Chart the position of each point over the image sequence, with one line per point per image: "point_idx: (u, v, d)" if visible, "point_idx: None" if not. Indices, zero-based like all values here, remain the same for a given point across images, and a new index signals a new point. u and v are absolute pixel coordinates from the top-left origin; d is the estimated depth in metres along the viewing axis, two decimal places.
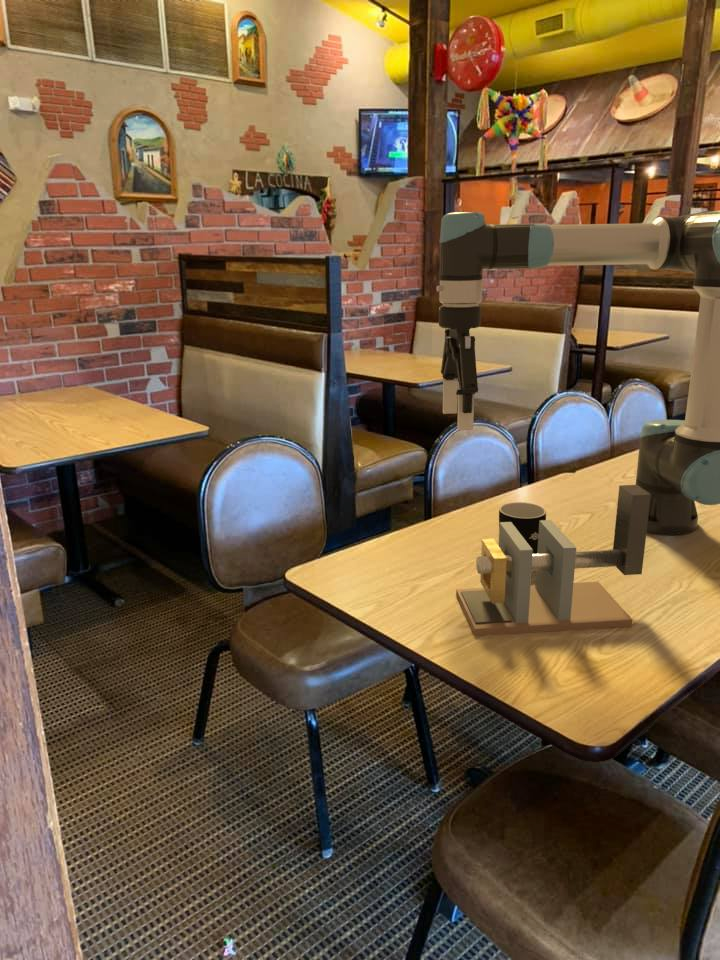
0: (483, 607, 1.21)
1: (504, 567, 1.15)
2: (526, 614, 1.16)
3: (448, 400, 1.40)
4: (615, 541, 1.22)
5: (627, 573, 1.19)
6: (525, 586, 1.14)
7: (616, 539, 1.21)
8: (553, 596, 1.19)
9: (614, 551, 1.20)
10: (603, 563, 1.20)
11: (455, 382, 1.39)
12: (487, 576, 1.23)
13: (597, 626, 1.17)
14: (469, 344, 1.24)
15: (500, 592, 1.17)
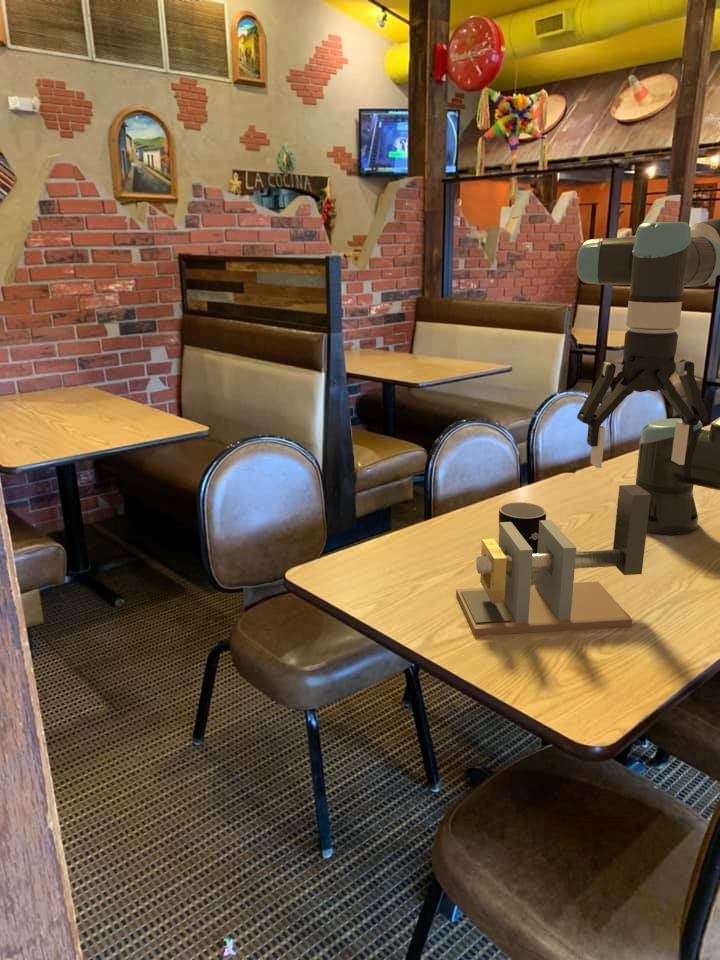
0: (483, 607, 1.21)
1: (504, 567, 1.15)
2: (526, 614, 1.16)
3: (676, 445, 1.16)
4: (615, 541, 1.22)
5: (627, 573, 1.19)
6: (525, 586, 1.14)
7: (616, 539, 1.21)
8: (553, 596, 1.19)
9: (614, 551, 1.20)
10: (603, 563, 1.20)
11: (682, 426, 1.14)
12: (487, 576, 1.23)
13: (597, 626, 1.17)
14: (604, 371, 1.10)
15: (500, 592, 1.17)
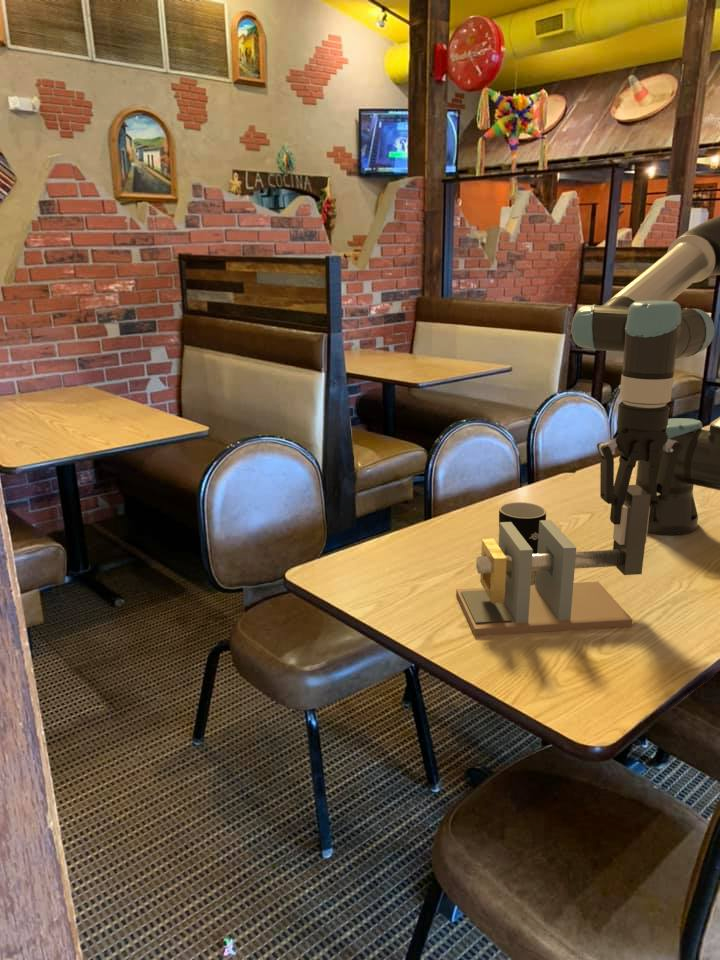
0: (483, 607, 1.21)
1: (504, 567, 1.15)
2: (526, 614, 1.16)
3: None
4: (615, 541, 1.22)
5: (627, 573, 1.19)
6: (525, 586, 1.14)
7: None
8: (553, 596, 1.19)
9: (614, 551, 1.20)
10: (603, 563, 1.20)
11: None
12: (487, 576, 1.23)
13: (597, 626, 1.17)
14: (602, 454, 1.15)
15: (500, 592, 1.17)
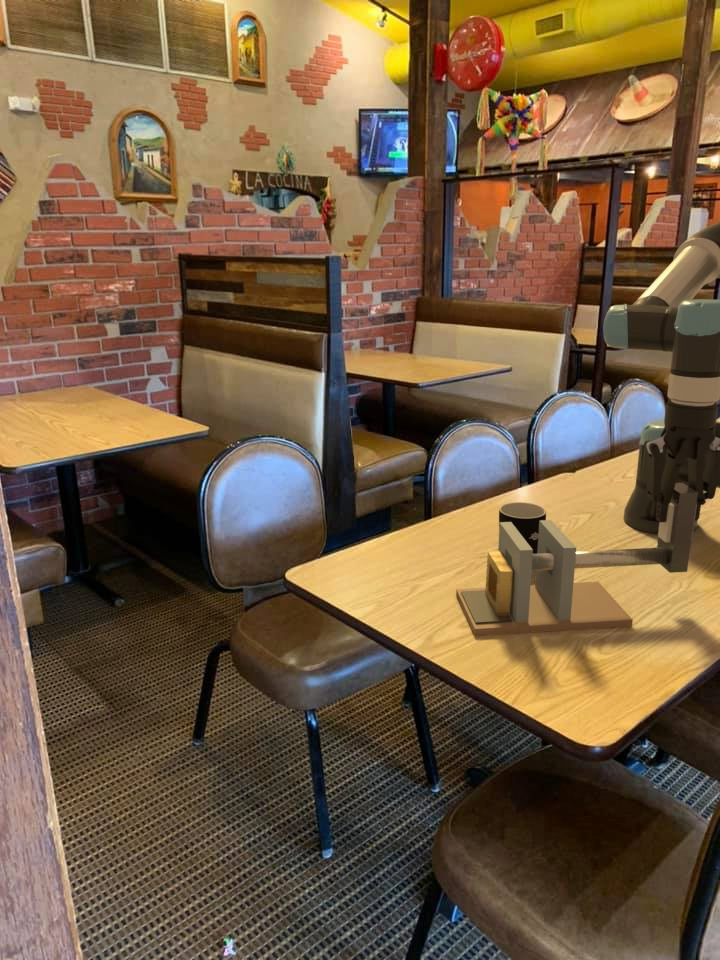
0: (483, 607, 1.21)
1: (510, 580, 1.16)
2: (526, 614, 1.16)
3: None
4: (660, 539, 1.22)
5: (673, 571, 1.20)
6: (525, 586, 1.14)
7: None
8: (553, 596, 1.19)
9: (659, 549, 1.21)
10: (648, 560, 1.20)
11: None
12: (492, 588, 1.24)
13: (597, 626, 1.17)
14: (649, 452, 1.15)
15: (505, 605, 1.17)
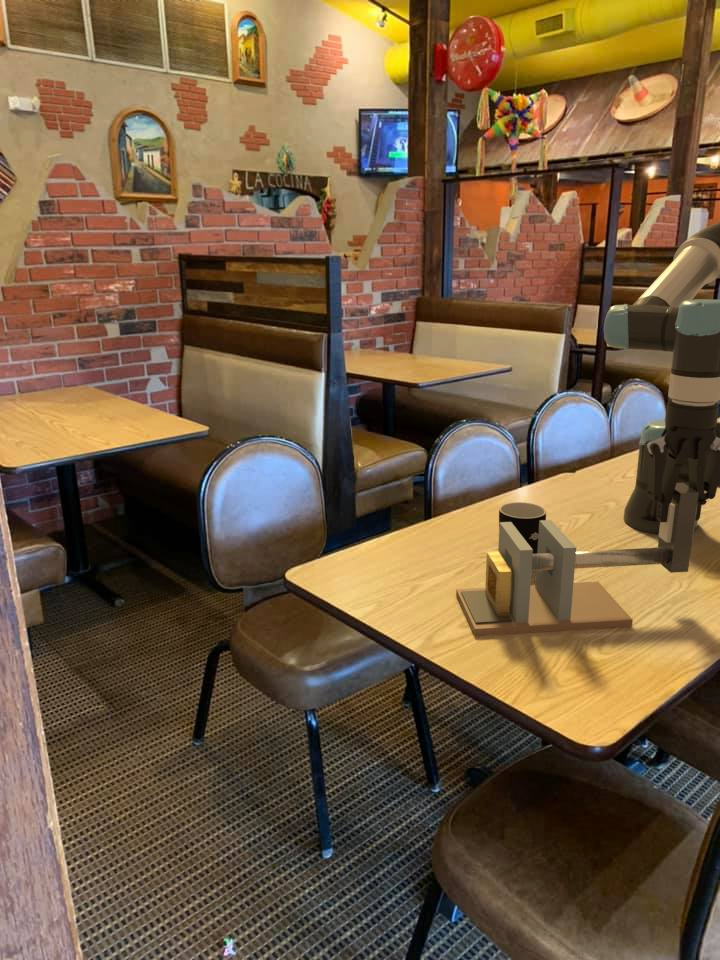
0: (483, 607, 1.21)
1: (509, 580, 1.16)
2: (526, 614, 1.16)
3: None
4: (661, 539, 1.22)
5: (673, 571, 1.20)
6: (525, 586, 1.14)
7: None
8: (553, 596, 1.19)
9: (660, 549, 1.21)
10: (649, 560, 1.20)
11: None
12: (492, 588, 1.24)
13: (597, 626, 1.17)
14: (650, 452, 1.15)
15: (505, 605, 1.17)
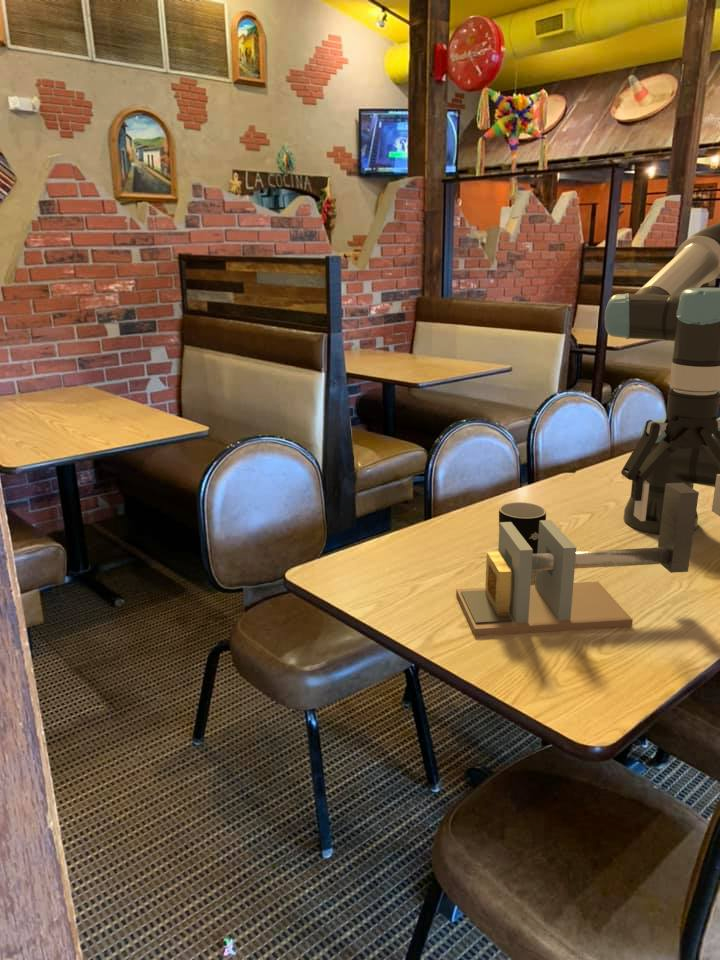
0: (483, 607, 1.21)
1: (509, 580, 1.16)
2: (526, 614, 1.16)
3: (716, 497, 1.20)
4: (661, 539, 1.22)
5: (673, 571, 1.20)
6: (525, 586, 1.14)
7: (662, 536, 1.22)
8: (553, 596, 1.19)
9: (660, 549, 1.21)
10: (649, 560, 1.20)
11: None
12: (492, 588, 1.24)
13: (597, 626, 1.17)
14: (649, 430, 1.14)
15: (505, 605, 1.17)
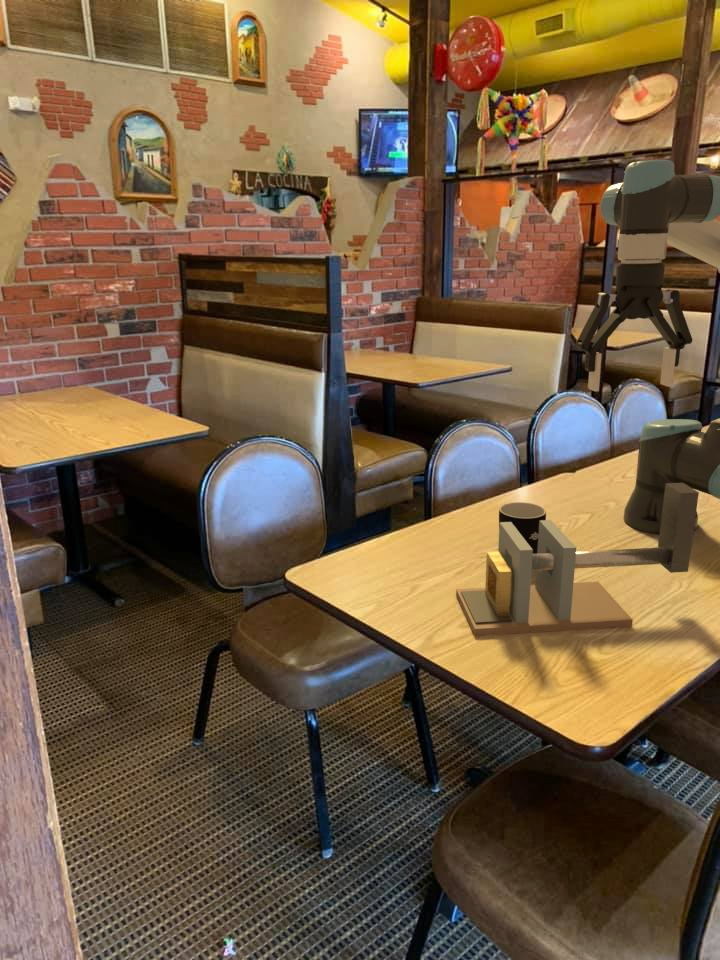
0: (483, 607, 1.21)
1: (509, 580, 1.16)
2: (526, 614, 1.16)
3: (664, 369, 1.27)
4: (661, 539, 1.22)
5: (673, 571, 1.20)
6: (525, 586, 1.14)
7: (662, 536, 1.22)
8: (553, 596, 1.19)
9: (660, 549, 1.21)
10: (649, 560, 1.20)
11: (670, 351, 1.25)
12: (492, 588, 1.24)
13: (597, 626, 1.17)
14: (599, 301, 1.21)
15: (505, 605, 1.17)
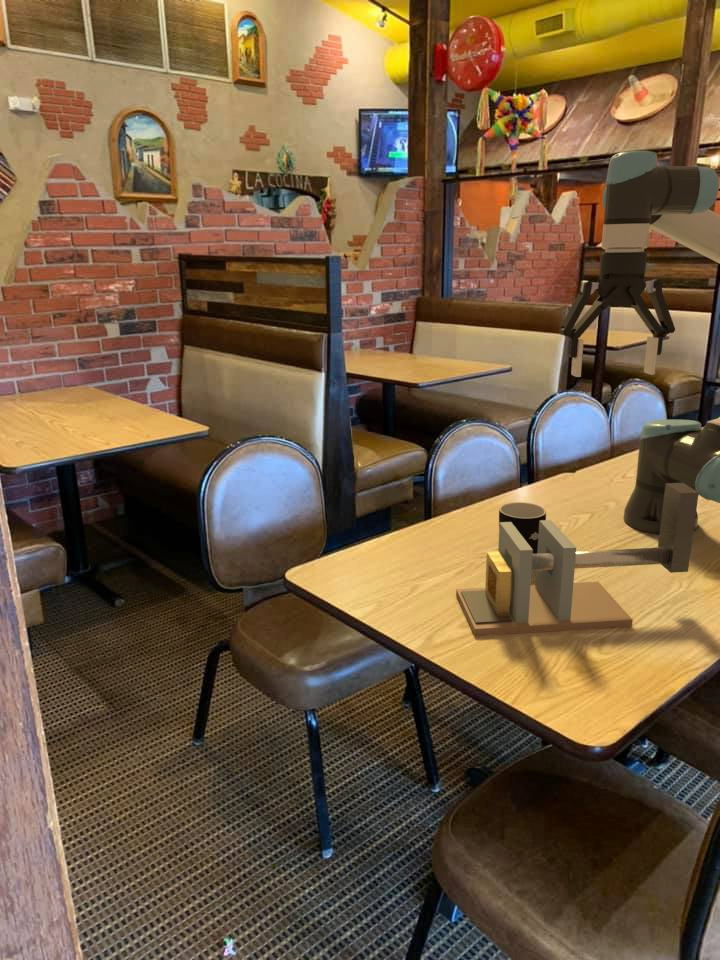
0: (483, 607, 1.21)
1: (509, 580, 1.16)
2: (526, 614, 1.16)
3: (647, 358, 1.30)
4: (661, 539, 1.22)
5: (673, 571, 1.20)
6: (525, 586, 1.14)
7: (662, 536, 1.22)
8: (553, 596, 1.19)
9: (660, 549, 1.21)
10: (649, 560, 1.20)
11: (652, 339, 1.28)
12: (492, 588, 1.24)
13: (597, 626, 1.17)
14: (582, 288, 1.24)
15: (505, 605, 1.17)
